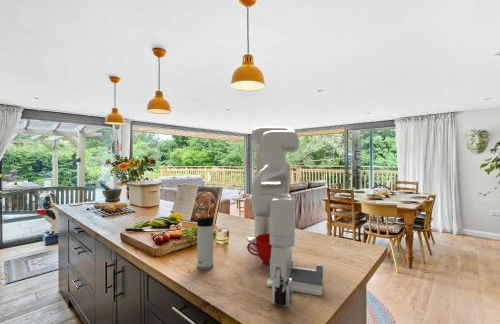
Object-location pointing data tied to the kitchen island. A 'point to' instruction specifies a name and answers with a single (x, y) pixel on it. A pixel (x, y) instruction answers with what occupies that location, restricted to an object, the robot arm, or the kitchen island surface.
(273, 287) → the clip
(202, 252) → the travel mug
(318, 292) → the base board
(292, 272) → the rail
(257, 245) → the ceramic cup
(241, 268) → the kitchen island surface
